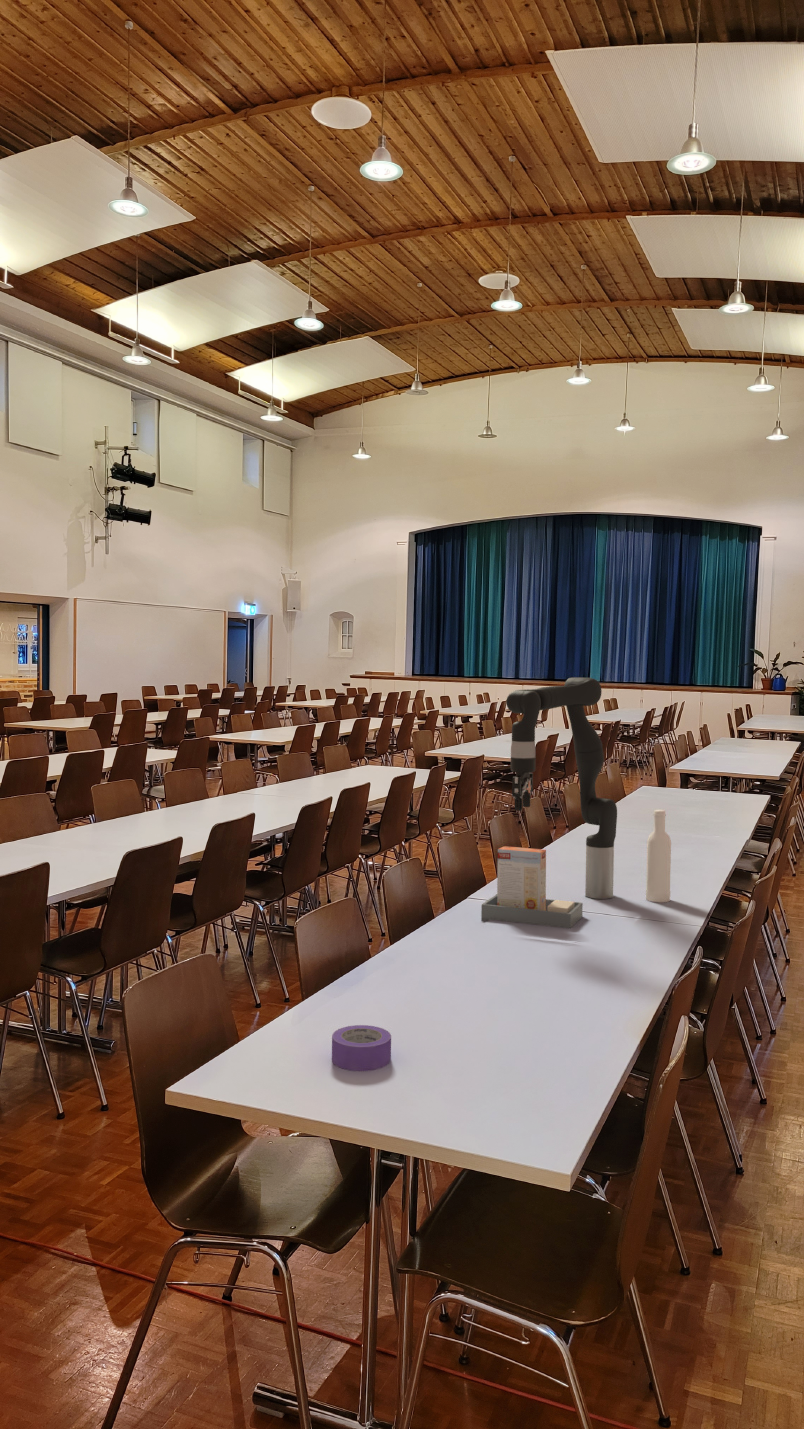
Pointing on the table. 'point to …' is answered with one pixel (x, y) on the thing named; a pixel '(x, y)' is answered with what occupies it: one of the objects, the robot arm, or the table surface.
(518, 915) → the tote
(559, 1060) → the table surface
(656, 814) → the bottle
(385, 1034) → the tape roll
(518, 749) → the robot arm
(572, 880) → the table surface
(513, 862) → the cracker box
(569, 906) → the beige block
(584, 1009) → the table surface
